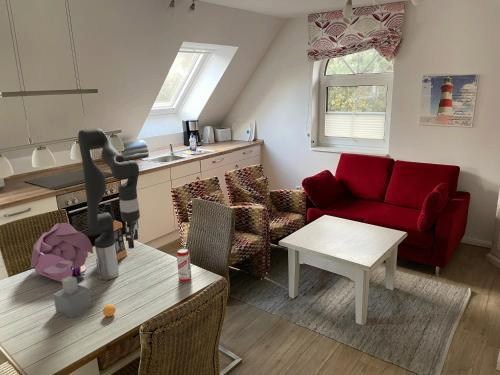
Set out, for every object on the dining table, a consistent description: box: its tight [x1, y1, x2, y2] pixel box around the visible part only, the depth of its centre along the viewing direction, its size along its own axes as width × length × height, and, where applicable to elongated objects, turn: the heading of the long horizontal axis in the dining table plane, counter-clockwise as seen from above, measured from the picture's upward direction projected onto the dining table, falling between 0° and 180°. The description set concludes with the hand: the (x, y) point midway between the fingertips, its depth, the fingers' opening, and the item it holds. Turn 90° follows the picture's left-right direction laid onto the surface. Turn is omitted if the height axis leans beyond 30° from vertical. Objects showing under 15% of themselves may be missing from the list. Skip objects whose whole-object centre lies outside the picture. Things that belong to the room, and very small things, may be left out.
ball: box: [102, 303, 117, 318], centre depth 161 cm, size 5×5×5 cm
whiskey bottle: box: [100, 202, 128, 262], centre depth 211 cm, size 10×10×32 cm
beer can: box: [176, 247, 192, 284], centre depth 186 cm, size 6×6×16 cm
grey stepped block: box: [52, 276, 92, 319], centre depth 165 cm, size 10×10×15 cm
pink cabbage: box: [30, 222, 94, 283], centre depth 195 cm, size 35×24×28 cm
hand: (133, 243), depth 164 cm, fingers open, 8 cm apart
